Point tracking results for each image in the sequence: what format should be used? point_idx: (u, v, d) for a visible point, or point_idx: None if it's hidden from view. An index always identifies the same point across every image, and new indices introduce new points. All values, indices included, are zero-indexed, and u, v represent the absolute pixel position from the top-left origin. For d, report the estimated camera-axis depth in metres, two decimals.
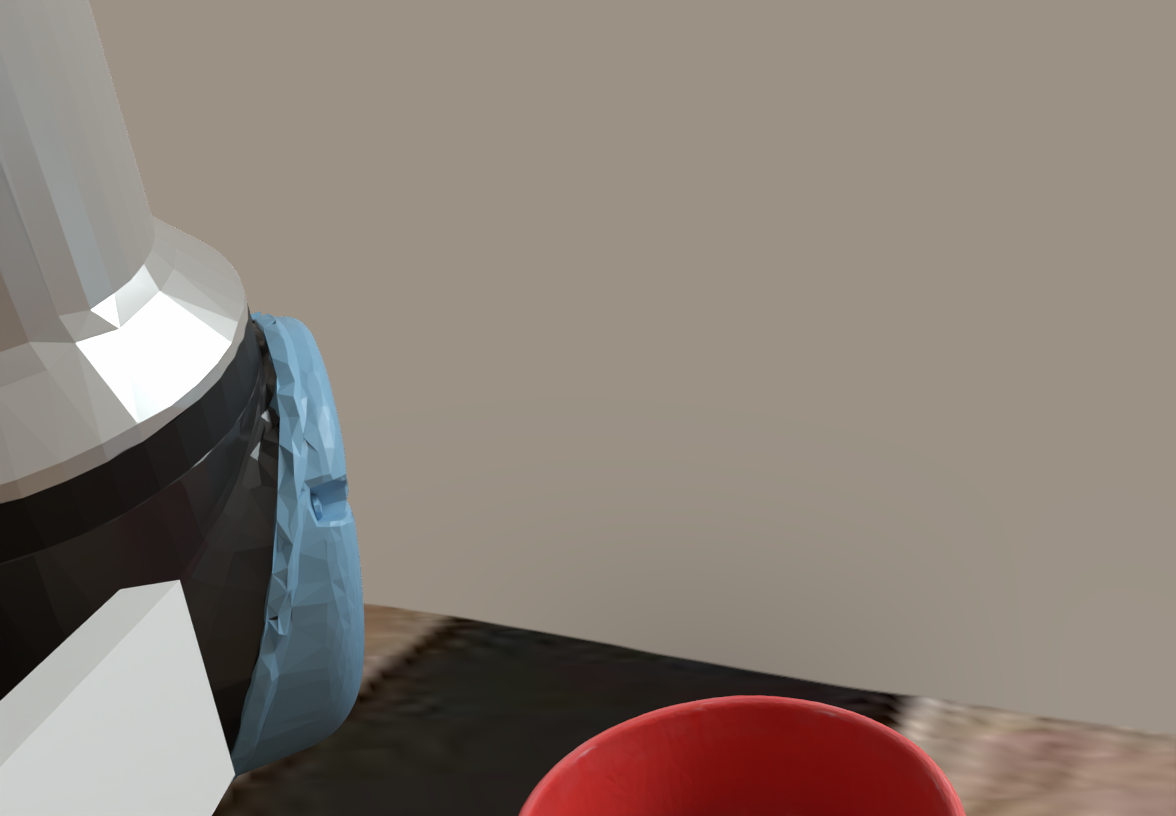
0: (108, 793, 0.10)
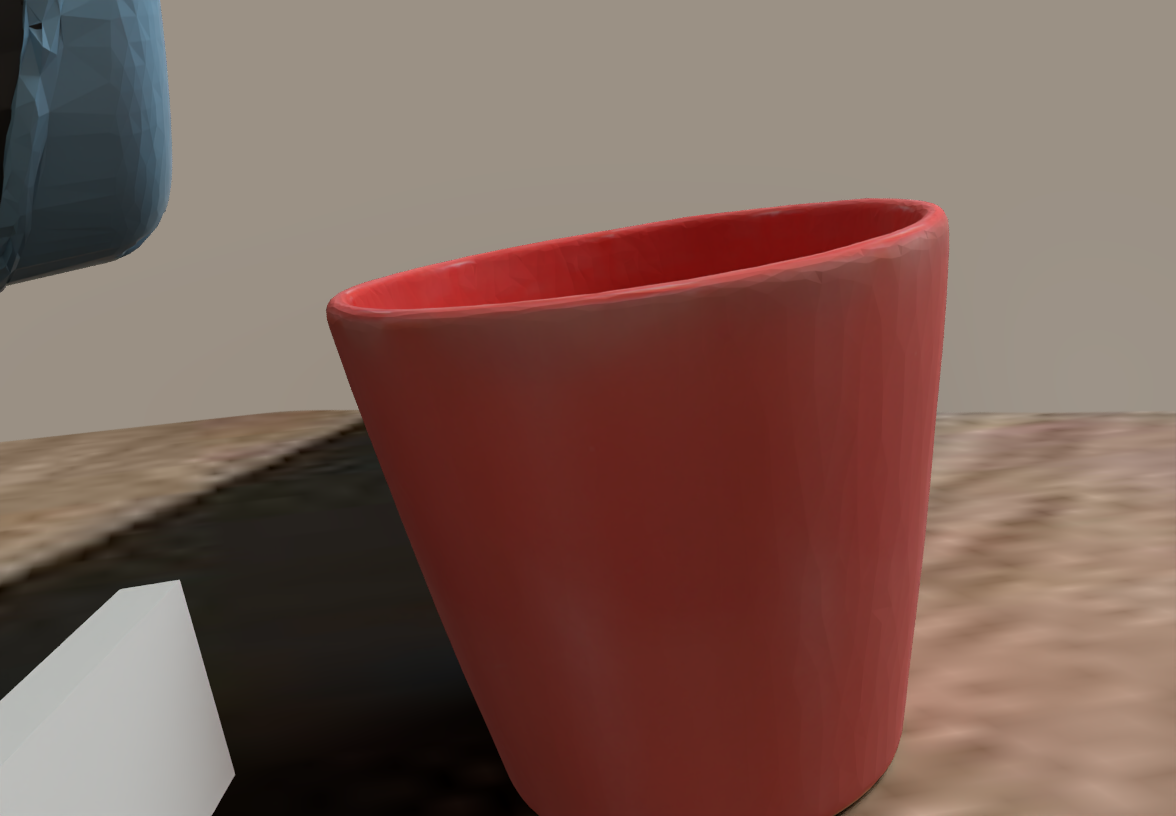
0: (108, 793, 0.10)
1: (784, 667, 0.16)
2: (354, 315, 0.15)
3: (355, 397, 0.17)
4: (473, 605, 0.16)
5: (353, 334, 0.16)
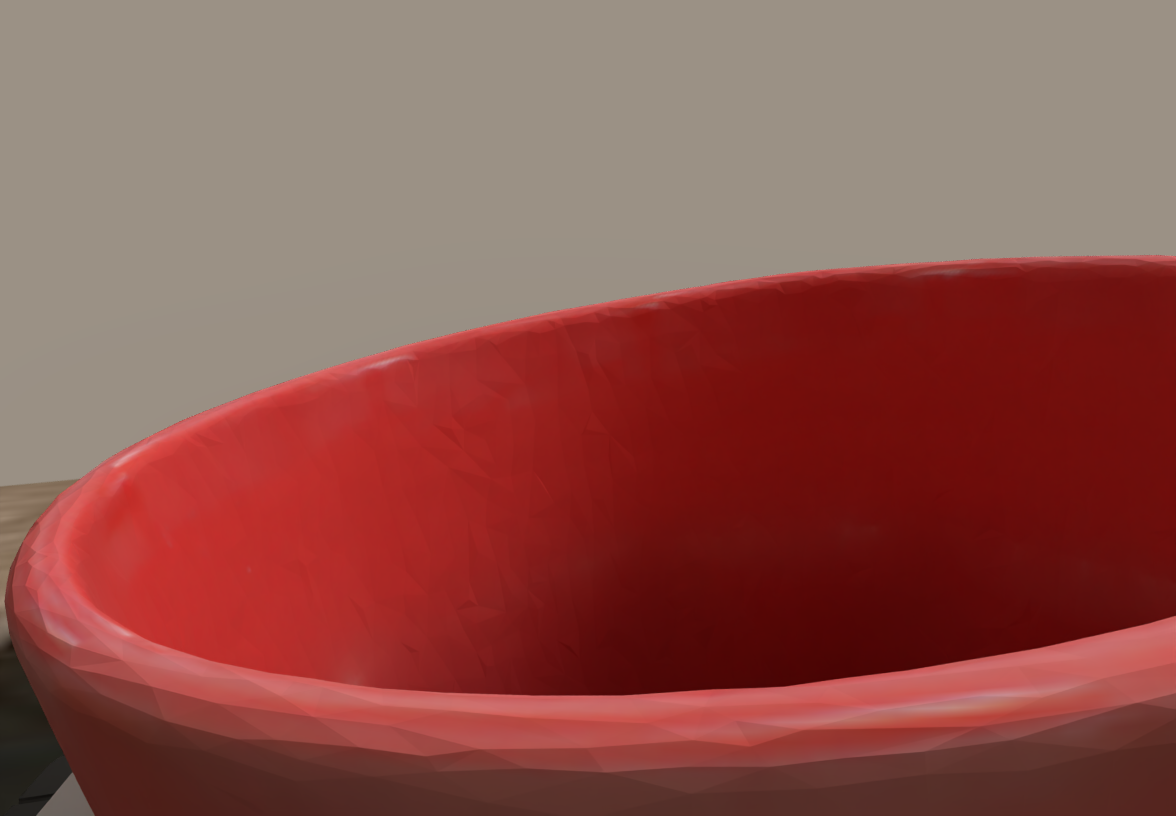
0: None
1: None
2: (15, 614, 0.06)
3: None
4: None
5: (19, 659, 0.06)
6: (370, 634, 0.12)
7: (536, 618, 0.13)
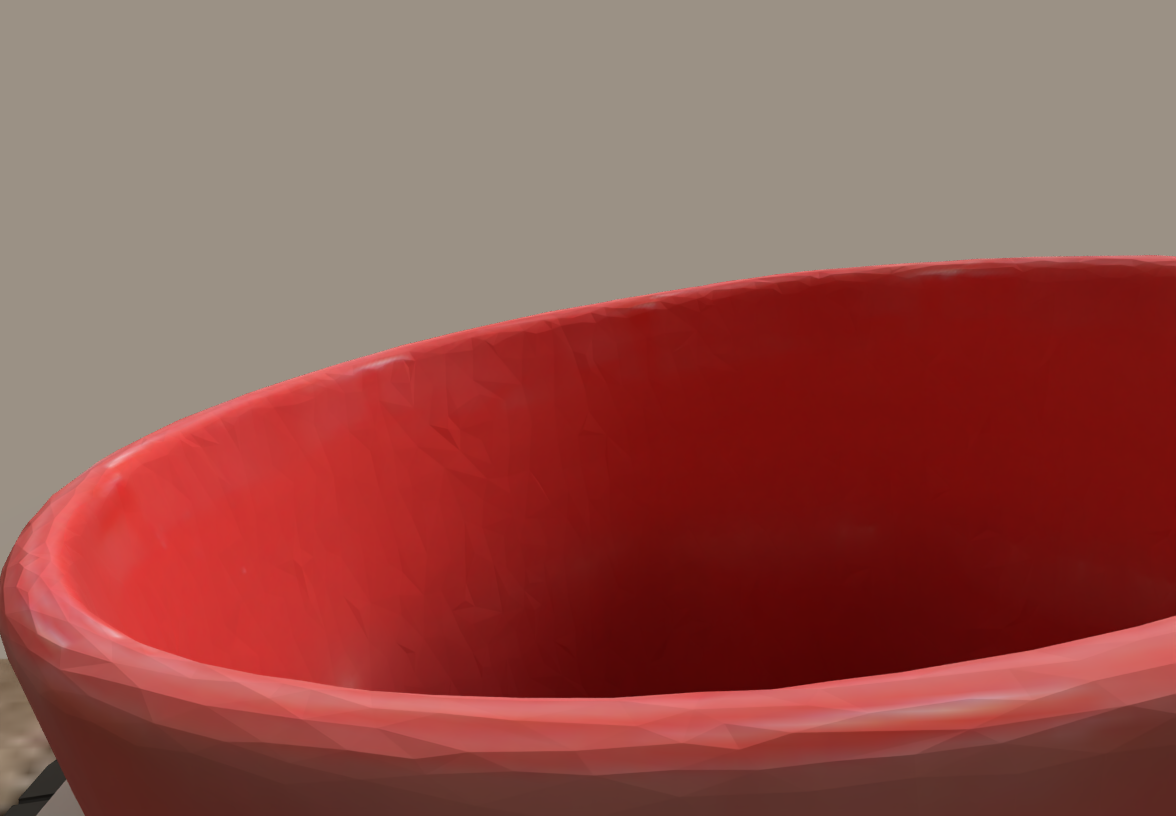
0: None
1: None
2: (5, 617, 0.06)
3: None
4: None
5: (11, 662, 0.06)
6: (366, 635, 0.12)
7: (533, 617, 0.13)
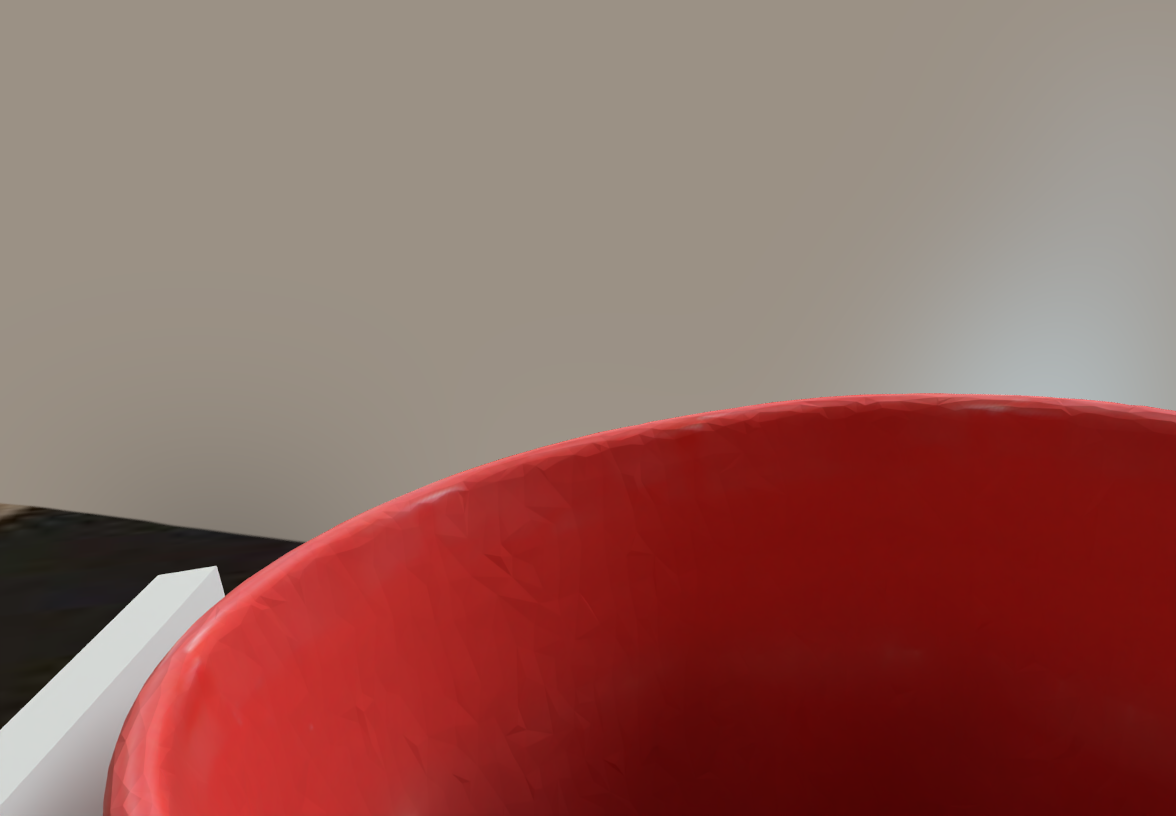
0: None
1: None
2: None
3: None
4: None
5: None
6: (424, 770, 0.12)
7: (583, 737, 0.13)
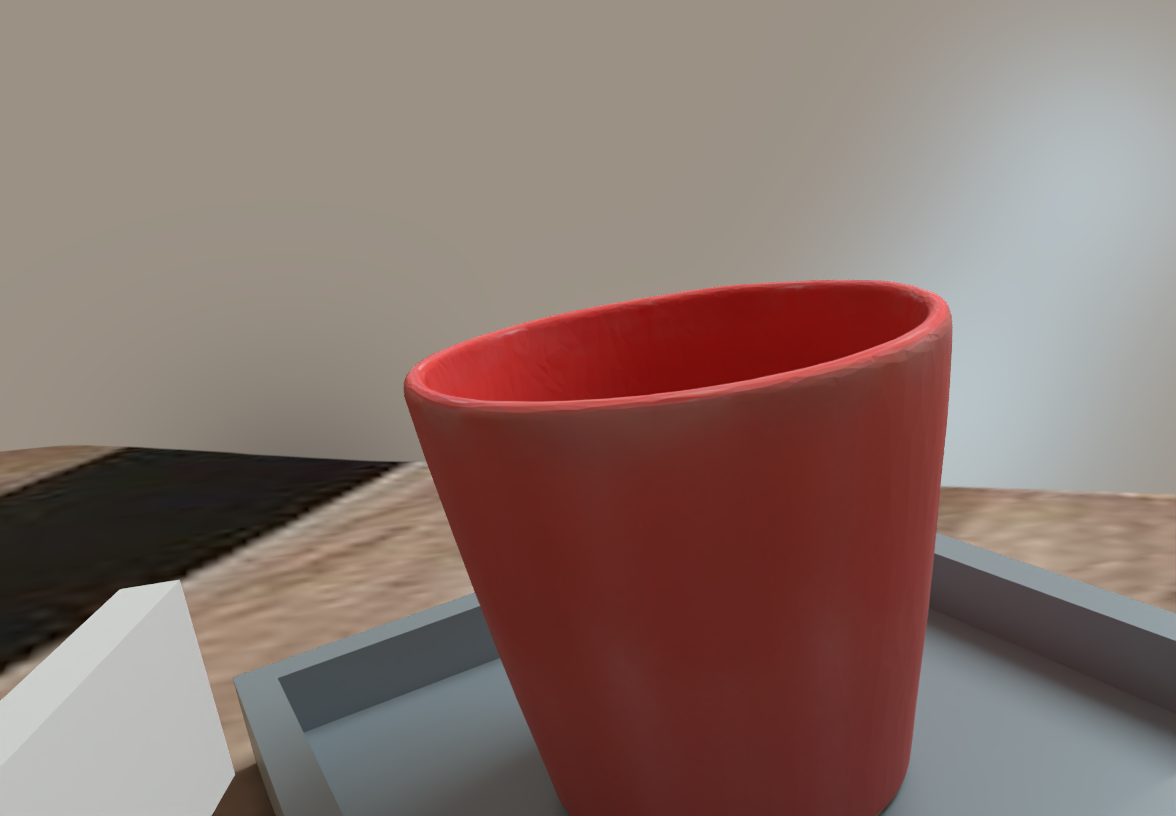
0: (108, 793, 0.10)
1: (804, 709, 0.18)
2: (433, 401, 0.18)
3: (429, 465, 0.20)
4: (532, 650, 0.19)
5: (432, 417, 0.18)
6: None
7: None
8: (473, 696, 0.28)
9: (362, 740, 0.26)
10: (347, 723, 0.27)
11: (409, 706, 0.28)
